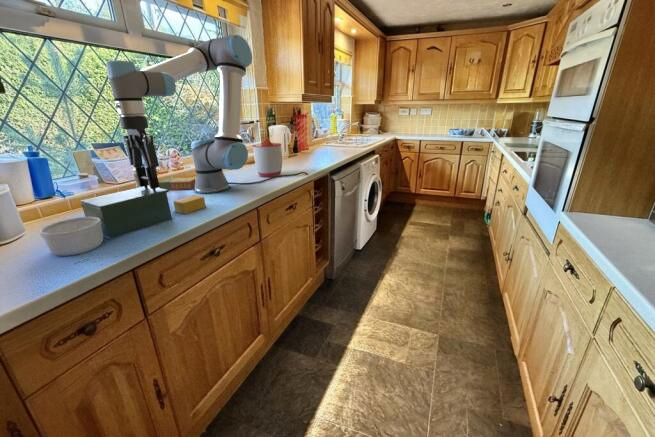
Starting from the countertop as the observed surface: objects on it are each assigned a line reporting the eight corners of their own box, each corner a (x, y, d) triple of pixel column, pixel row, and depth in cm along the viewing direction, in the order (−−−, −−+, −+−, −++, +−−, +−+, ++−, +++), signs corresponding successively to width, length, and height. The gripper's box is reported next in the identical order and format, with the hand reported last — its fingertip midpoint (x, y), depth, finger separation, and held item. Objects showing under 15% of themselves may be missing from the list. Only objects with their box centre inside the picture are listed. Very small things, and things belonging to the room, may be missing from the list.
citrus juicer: (268, 171, 181) (264, 137, 174) (289, 174, 171) (286, 137, 164) (247, 176, 169) (243, 139, 162) (269, 179, 159) (266, 140, 152)
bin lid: (147, 187, 109) (144, 172, 107) (168, 191, 102) (165, 175, 101) (80, 203, 93) (75, 185, 91) (100, 209, 86) (94, 190, 84)
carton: (192, 189, 144) (190, 180, 143) (159, 190, 145) (157, 181, 143) (199, 185, 152) (198, 176, 151) (168, 186, 153) (166, 177, 151)
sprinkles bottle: (147, 201, 127) (139, 169, 123) (137, 201, 128) (129, 169, 123) (154, 198, 132) (146, 167, 127) (144, 198, 132) (136, 167, 127)
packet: (196, 204, 120) (194, 195, 119) (205, 206, 117) (204, 196, 116) (175, 211, 113) (173, 201, 112) (184, 213, 110) (182, 203, 109)
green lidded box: (151, 213, 112) (145, 188, 109) (172, 218, 105) (166, 192, 102) (90, 231, 96) (80, 203, 93) (110, 239, 90) (100, 209, 86)
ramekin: (113, 245, 85) (106, 222, 83) (52, 263, 76) (42, 238, 73) (100, 234, 93) (94, 213, 91) (44, 249, 84) (35, 226, 82)
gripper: (105, 116, 97) (124, 186, 105) (136, 115, 88) (154, 192, 96) (129, 115, 103) (145, 181, 111) (160, 114, 93) (176, 187, 101)
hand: (149, 186), depth 103 cm, fingers closed on bin lid, 6 cm apart
